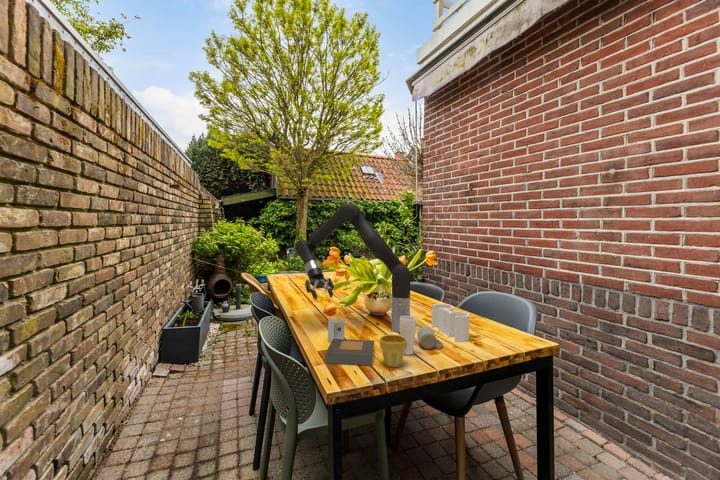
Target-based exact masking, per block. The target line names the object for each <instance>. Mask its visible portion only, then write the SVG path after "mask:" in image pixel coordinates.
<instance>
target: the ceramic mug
mask: <svg viewBox="0 0 720 480" xmlns="http://www.w3.org/2000/svg"><path fill="white" fill-rule="evenodd" d="M417 340H418V342H419V344H420V346H421V347H422V348H423V349H426V350H431V349H433V348H435V347H437V349H438V348H439V349H441V348H442V347H444V346H443V345H444V344H443V342H442V341H440V340H439V339H437V337H436V335H435V331H433V328H430V327H427V326H423V327H421V328H420V329H419V330H418V331H417Z"/></svg>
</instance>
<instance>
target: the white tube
mask: <svg viewBox="0 0 720 480" xmlns="http://www.w3.org/2000/svg"><path fill="white" fill-rule="evenodd" d="M416 330H417V317H415V316H412V315H410V316H401V317H400V332H399V335H400V336H403V337H405V338H406V339H407V348H406V350H405V352H404V355H405V356H410V355H414V353H415V349H414V347H415V342H416V341H415V340H416Z"/></svg>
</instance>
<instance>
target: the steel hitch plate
mask: <svg viewBox="0 0 720 480" xmlns="http://www.w3.org/2000/svg"><path fill="white" fill-rule="evenodd" d="M374 354H375V340H373V339H372V340H371V339H370V340H369V339H368V340H367V339H345V338H344V339H333V340H332V342H330V344H329V346H328V347H327V349H326V351H325V358H324V359H325V362H324V363H325V364H332V365H333V364H334V365H349V366H350V365H351V366H353V365H354V366H366V367H367V366H370V367H372V366H373V361H374Z"/></svg>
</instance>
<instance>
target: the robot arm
mask: <svg viewBox="0 0 720 480" xmlns="http://www.w3.org/2000/svg"><path fill="white" fill-rule="evenodd" d="M348 222H349V223H350V224H351V226H353V227H354V229H355V230H356V232H357V233H358V234H359V237H360V239H361V241H362V243H363V244H364V246H365V247H366V248H367V249H368V250H369V251H370V253H371V254H373V255H374V257H376V259H378V260H379V261H380V262H382V264H384V265H385V266H386V268H387V269H388V271H389V273H391V324H390V325H391V331H392V332H395V333H400V317H401V316H411V271H410V269H409V267H408V266H407V265H406V264H404V263H403V262H402V261H401V260H400V259H399V258H398V257H397V256H396V254H395V253H394V251H392V249H391V247H390V246H389V244H388V242H386V241H385V239H384V238H383V236H381V234H380V233H379V232H378V231H377V230H376V229H375V228H374V227H373V225H371V224H370V222H368V221H367V220H366V218H365V217H364V216H363V214H362V211H360V210H359V208H358V206H357V205H355V204H353V203H349V202H348V203H343V204H342V205H340V206H339V208H338V209H336V211H335V213H333V215H332V216H330V218H329V219H327V220H326V221H325V222H324V223H323V224H322V225H320V226H319V227H318V228H317V229H315V230H314V231H313V232H312V233H310V234H309V240H310V241H307V240H305V239H298V240H297V241H296V242H295V251H296V253H297V254H298V256H299V257H300V258H301V259H300V260H302V262H303V266H304V268H305V272H306V275H307V277H308V279H306V280H305V281H304V285H305V290H306V292H307V293H308V294H309V293H311V295H312V298H313V299H314V300H317V299H318V294H317V292H316V290H315V289H323V290H326V291H327V293H328V295H329V298H333V296H334V293H333V290H334V288H335V285H334V283H333V281H332V279H331V278H330V277H328V278H327V279H326V278H325V276H324V273H323V270H322V268H321V265H320V263H319V262H318V259H317V257H316V255H315V254H314V253H315V251H316V250H317V248H318V247H319V245H320V244H322V242H324V241H325V240H326V239H328V238H329V236H331V235H332V234H333V232H334V231H335V230H337V229H338V228H340V226H342V225H344V224H345V223H348ZM311 286H312V288H311Z"/></svg>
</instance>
